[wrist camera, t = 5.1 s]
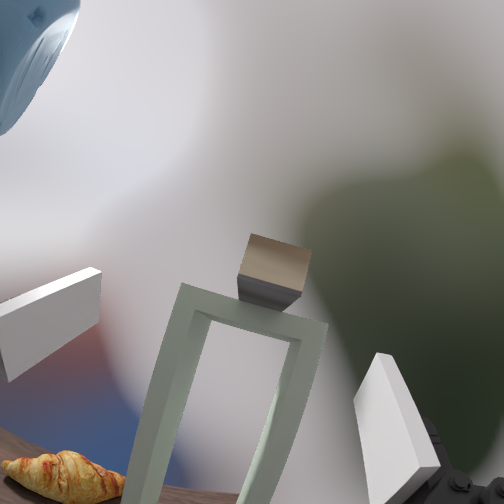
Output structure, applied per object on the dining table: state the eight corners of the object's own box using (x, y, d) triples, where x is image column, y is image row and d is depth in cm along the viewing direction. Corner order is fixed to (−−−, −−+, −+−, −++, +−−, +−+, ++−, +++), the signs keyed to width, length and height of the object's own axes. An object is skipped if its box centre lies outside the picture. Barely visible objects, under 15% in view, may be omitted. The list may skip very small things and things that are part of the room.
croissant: (6, 504, 15) (6, 487, 14) (-2, 445, 22) (-1, 420, 22) (135, 513, 29) (155, 497, 28) (115, 464, 36) (131, 444, 36)
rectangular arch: (228, 584, 16) (328, 324, 26) (113, 545, 17) (181, 282, 27) (234, 543, 25) (310, 330, 35) (140, 513, 27) (201, 300, 37)
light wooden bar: (300, 296, 18) (312, 250, 19) (237, 277, 18) (251, 233, 19) (267, 323, 41) (273, 302, 41) (240, 315, 41) (246, 294, 42)
